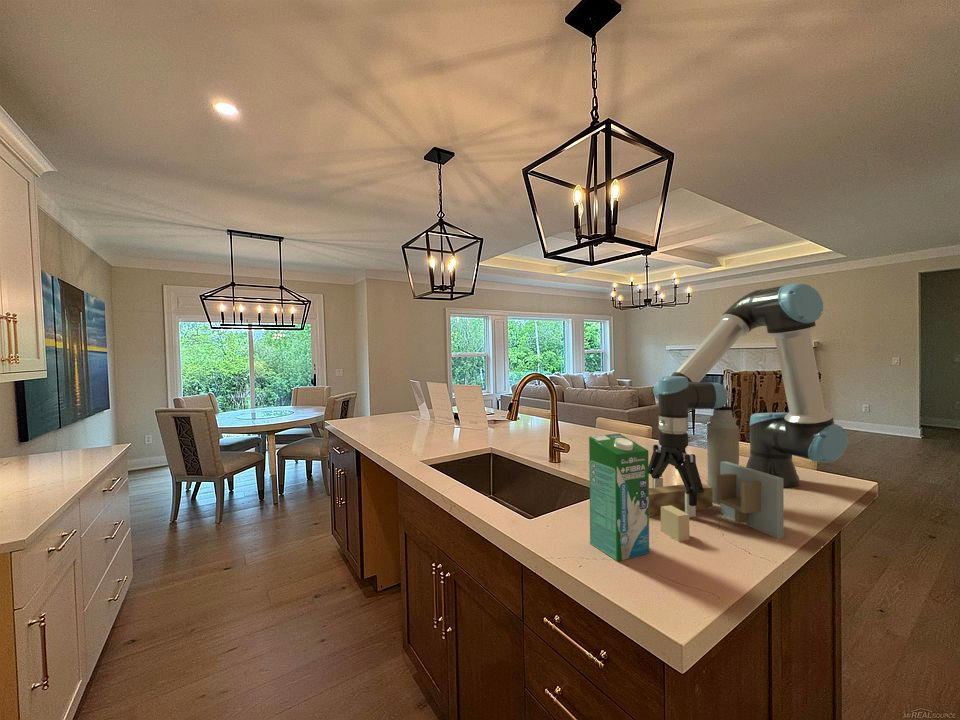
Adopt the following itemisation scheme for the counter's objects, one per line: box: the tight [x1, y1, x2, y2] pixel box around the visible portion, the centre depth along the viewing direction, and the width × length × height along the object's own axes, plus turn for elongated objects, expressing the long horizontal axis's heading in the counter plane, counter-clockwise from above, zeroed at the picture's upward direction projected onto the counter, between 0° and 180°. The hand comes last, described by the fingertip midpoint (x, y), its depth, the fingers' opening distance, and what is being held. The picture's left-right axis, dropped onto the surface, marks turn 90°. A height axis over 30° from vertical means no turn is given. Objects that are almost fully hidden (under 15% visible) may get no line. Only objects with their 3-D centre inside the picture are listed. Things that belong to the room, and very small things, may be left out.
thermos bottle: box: [706, 405, 740, 506], centre depth 118 cm, size 8×8×28 cm
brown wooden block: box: [649, 483, 714, 517], centre depth 113 cm, size 22×4×6 cm, turn 104°
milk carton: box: [588, 433, 650, 562], centre depth 91 cm, size 9×9×25 cm
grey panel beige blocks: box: [660, 461, 785, 543], centre depth 99 cm, size 25×16×14 cm, turn 104°
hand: (673, 508), depth 113 cm, fingers open, 12 cm apart
